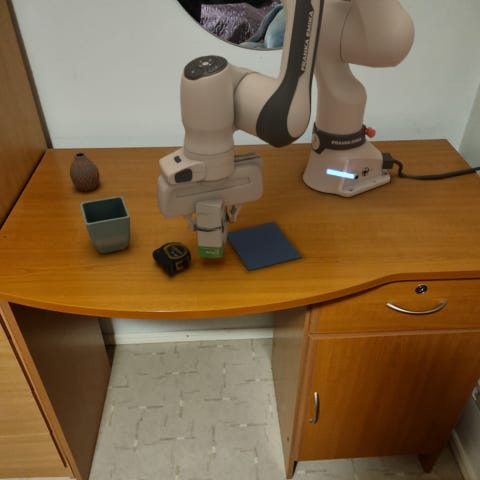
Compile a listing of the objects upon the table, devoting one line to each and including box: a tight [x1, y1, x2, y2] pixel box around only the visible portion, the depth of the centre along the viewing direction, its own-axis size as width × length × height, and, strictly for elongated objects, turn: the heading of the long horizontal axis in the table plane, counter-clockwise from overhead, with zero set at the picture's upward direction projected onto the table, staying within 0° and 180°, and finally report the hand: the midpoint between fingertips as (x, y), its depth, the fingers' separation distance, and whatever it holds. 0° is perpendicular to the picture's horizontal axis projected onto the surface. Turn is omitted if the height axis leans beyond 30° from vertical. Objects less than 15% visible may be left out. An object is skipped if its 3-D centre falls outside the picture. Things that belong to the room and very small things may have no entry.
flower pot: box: [79, 195, 131, 254], centre depth 101 cm, size 9×9×9 cm
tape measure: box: [152, 241, 192, 276], centre depth 98 cm, size 7×7×4 cm
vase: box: [69, 151, 101, 192], centre depth 118 cm, size 7×7×9 cm
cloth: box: [226, 221, 303, 272], centre depth 104 cm, size 12×14×1 cm
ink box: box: [195, 198, 228, 259], centre depth 95 cm, size 9×5×12 cm, turn 173°
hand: (212, 225), depth 95 cm, fingers closed on ink box, 6 cm apart
